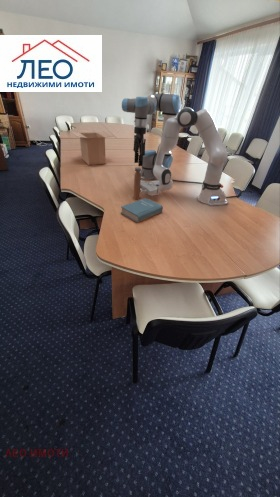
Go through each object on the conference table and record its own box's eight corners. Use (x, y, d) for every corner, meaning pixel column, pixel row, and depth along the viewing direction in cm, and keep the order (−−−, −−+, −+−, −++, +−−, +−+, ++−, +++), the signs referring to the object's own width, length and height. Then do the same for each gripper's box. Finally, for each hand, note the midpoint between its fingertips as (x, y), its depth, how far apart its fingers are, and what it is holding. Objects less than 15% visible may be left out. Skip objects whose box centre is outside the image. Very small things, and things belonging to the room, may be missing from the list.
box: (116, 165, 229) (116, 136, 213) (83, 168, 214) (80, 137, 198) (102, 154, 259) (101, 128, 243) (71, 156, 244) (68, 129, 228)
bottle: (134, 199, 164) (136, 170, 151) (132, 196, 168) (133, 168, 155) (140, 198, 166) (142, 169, 153) (138, 196, 169) (140, 167, 156)
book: (145, 204, 158) (145, 197, 155) (162, 212, 149) (163, 206, 146) (121, 213, 145) (121, 206, 142) (138, 223, 136) (138, 216, 133)
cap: (136, 171, 152) (136, 169, 152) (134, 170, 156) (134, 167, 155) (141, 171, 154) (142, 169, 153) (139, 169, 157) (139, 167, 156)
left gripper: (129, 124, 144) (128, 160, 158) (141, 129, 130) (138, 168, 144) (139, 124, 147) (137, 160, 160) (152, 129, 133) (149, 168, 146)
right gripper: (147, 178, 174) (131, 180, 168) (161, 187, 160) (144, 189, 154) (146, 186, 178) (131, 188, 172) (160, 195, 164) (143, 198, 158)
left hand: (138, 164), depth 152 cm, fingers open, 7 cm apart
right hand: (137, 189), depth 163 cm, fingers open, 8 cm apart
